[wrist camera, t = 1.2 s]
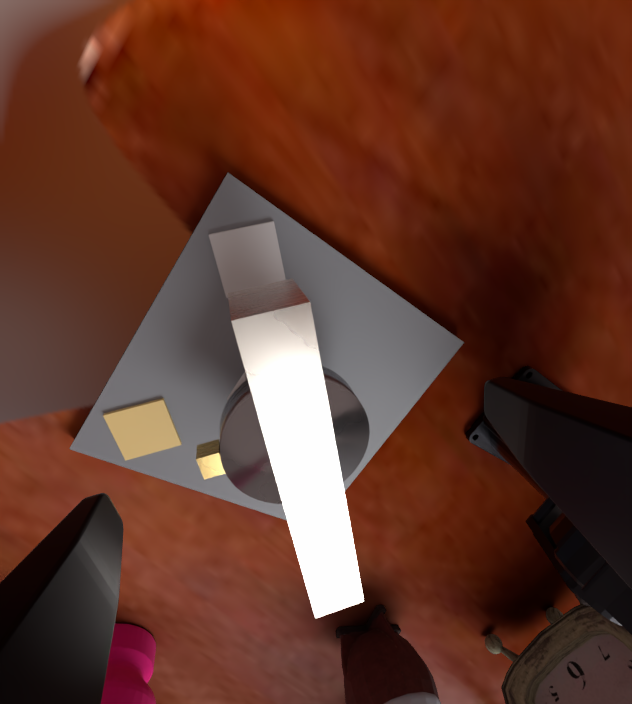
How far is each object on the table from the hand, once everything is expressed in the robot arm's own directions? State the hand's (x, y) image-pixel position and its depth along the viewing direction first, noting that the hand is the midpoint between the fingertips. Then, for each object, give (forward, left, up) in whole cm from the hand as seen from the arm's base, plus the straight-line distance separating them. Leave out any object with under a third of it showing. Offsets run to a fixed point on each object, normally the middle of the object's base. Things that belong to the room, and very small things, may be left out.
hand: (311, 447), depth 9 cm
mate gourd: (-25, +21, -13) cm, 35 cm away
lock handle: (-4, +4, -9) cm, 10 cm away
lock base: (-4, +4, -13) cm, 14 cm away
